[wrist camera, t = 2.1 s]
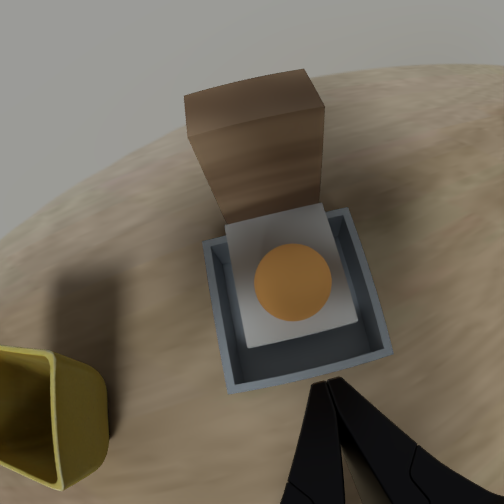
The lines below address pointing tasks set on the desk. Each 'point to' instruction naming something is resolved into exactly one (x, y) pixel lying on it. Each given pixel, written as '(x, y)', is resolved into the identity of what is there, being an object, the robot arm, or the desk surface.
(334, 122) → the desk surface
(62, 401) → the flower pot
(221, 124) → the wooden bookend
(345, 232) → the shallow blue-grey tray
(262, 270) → the ball
